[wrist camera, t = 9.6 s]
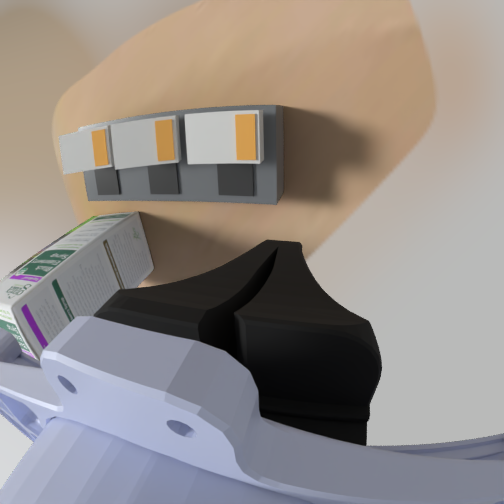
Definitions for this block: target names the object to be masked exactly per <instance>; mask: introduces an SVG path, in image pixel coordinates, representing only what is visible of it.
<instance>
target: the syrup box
mask: <svg viewBox="0 0 504 504" xmlns="http://www.w3.org/2000/svg"><path fill="white" fill-rule="evenodd" d="M153 269H154V266H153V262H152V258H151V254H150V251H149V247H148V244H147V240H146V237H145V233H144V230H143V226H142V223H141V219H140V216H139V212H137V211H136V212H126V213H115V214H107V215H100V216H93V217H91V218H90V219H88V220H87V221H85V222H83V223H82V224H80V225H79V226H77V227H75V228H74V229H73V230H71V231H69V232H68V233H66V234H65V235H63V236H62V237H60V238H59V239H57V240H56V241H54V242H52V243H51V244H50V245H48V246H46V247H45V248H44V249H42V250H41V251H39V252H38V253H36V254H35V255H33V256H32V257H31V258H29V259H28V260H27V261H25V262H24V263H22V264H21V265H20V266H18V267H17V268H16V269H14V270H13V271H12V272H10V273H9V274H8V275H6V276H5V277H4V278H3V279H1V280H0V327H1V328H3V329H4V330H6V331H8V332H10V333H11V334H12V335H13V336H14V337H15V338H16V340H17V341H18V343H19V345H20V347H21V349H22V352H24V353H26V354H27V355H29V356H31V357H33V358H35V359H37V360H38V361H40V357H41V355H42V352H43V350H44V349H45V348H46V347H47V346H48V345H49V344H50V343H51V342H52V340H53V339H54V338H55V337H56V336H57V335H58V334H59V333H60V332H61V331H62V330H63V329H64V328H65V327H66V326H67V325H68V324H69V323H70V322H71V321H72V320H73V319H74V318H76V317H78V316H94V314H95V313H96V312H97V311H98V310H99V309H100V308H101V307H102V306H103V305H104V304H105V303H106V302H107V301H108V300H109V299H110V298H111V297H112V296H113V295H114V294H115V293H116V292H117V291H118V290H119V289H131V288H137V287H138V286H139V285H140V284H141V282H142V281H143V280H144V279H145V278H146V277H147V276H148V275H149V274H150V273H151V272H152V271H153Z"/></svg>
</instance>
